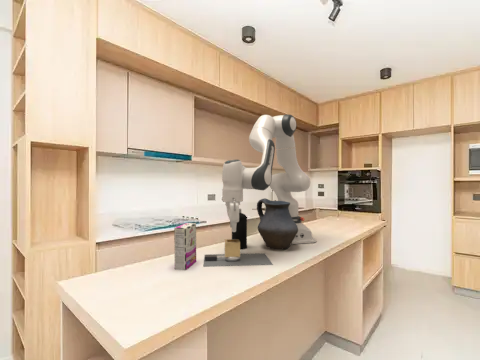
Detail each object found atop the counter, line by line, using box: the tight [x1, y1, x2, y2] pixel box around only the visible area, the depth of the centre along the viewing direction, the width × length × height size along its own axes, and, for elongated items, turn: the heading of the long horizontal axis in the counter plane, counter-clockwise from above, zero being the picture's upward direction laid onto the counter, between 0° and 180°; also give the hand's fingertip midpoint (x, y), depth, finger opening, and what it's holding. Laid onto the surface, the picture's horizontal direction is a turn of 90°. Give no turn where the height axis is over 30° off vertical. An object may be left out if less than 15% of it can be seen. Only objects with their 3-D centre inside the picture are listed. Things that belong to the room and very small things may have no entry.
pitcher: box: [256, 198, 298, 251], centre depth 134 cm, size 21×22×25 cm
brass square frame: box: [224, 238, 241, 257], centre depth 112 cm, size 6×6×6 cm
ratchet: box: [204, 253, 240, 262], centre depth 111 cm, size 15×7×5 cm, turn 96°
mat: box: [202, 252, 274, 268], centre depth 112 cm, size 28×17×1 cm, turn 96°
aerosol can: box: [231, 208, 248, 251], centre depth 132 cm, size 8×8×20 cm
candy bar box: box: [173, 222, 197, 271], centre depth 104 cm, size 11×5×16 cm, turn 168°
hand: (233, 229), depth 112 cm, fingers open, 8 cm apart
